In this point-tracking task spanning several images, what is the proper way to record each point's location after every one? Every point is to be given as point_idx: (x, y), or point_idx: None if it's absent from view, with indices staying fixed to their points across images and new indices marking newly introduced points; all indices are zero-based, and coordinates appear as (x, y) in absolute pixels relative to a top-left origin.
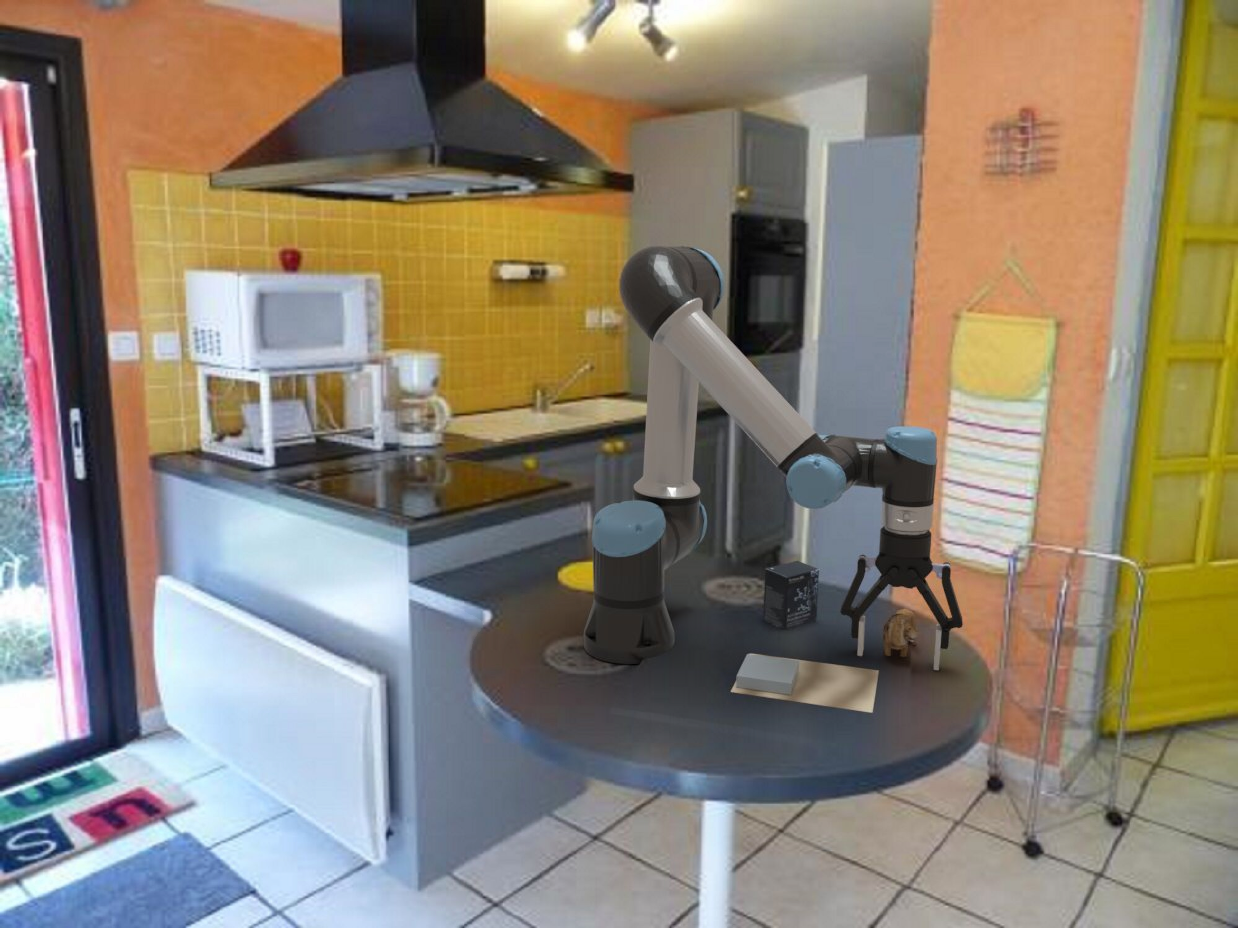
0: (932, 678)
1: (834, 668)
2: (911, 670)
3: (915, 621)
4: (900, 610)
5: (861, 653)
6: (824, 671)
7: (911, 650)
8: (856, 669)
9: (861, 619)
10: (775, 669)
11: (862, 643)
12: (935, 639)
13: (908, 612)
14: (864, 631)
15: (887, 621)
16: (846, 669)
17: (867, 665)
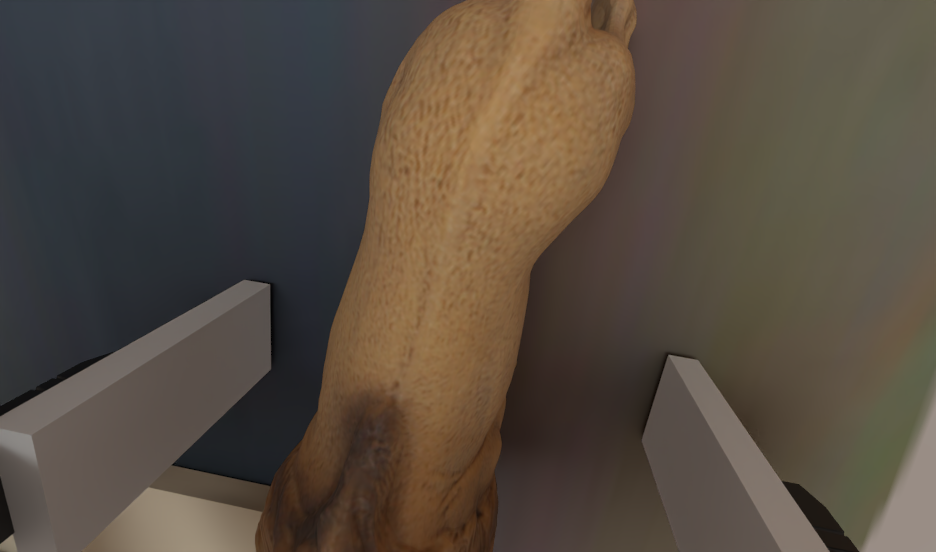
0: (612, 507)
1: (154, 520)
2: (520, 435)
3: (632, 110)
4: (416, 168)
5: (243, 392)
6: (122, 546)
7: None
8: (246, 524)
9: (25, 513)
10: None
11: (204, 428)
12: (720, 509)
13: (529, 216)
14: (167, 350)
15: (264, 533)
16: (204, 527)
17: (304, 402)
